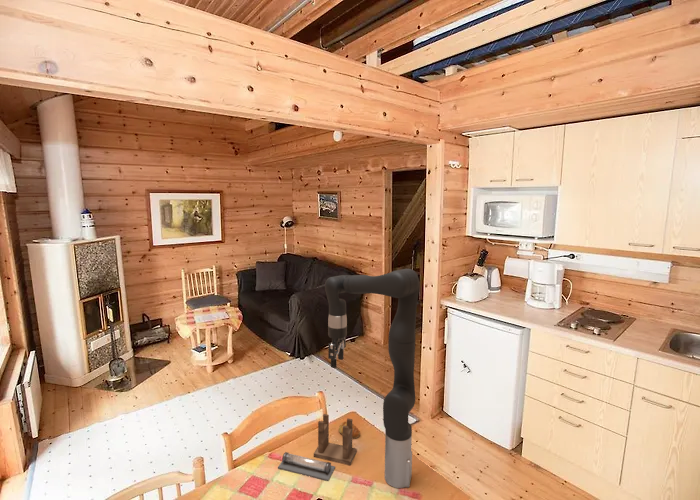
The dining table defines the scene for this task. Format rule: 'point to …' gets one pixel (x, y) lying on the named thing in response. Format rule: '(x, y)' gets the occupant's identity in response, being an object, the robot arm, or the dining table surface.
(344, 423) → the pastry
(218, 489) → the dining table surface
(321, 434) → the rack
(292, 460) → the capped glass tube
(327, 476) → the mat
